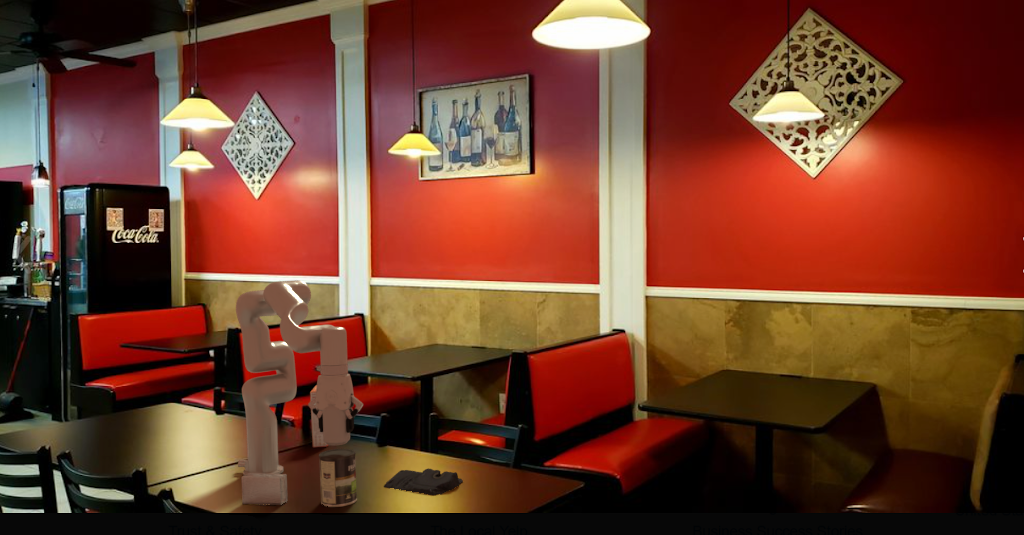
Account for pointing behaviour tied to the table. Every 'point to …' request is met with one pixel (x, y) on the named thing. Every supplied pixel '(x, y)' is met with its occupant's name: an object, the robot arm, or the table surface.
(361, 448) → the table surface
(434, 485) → the dark slate chunk
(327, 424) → the can
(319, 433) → the cracker box
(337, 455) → the coffee can
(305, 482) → the table surface
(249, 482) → the pinkish brown box
